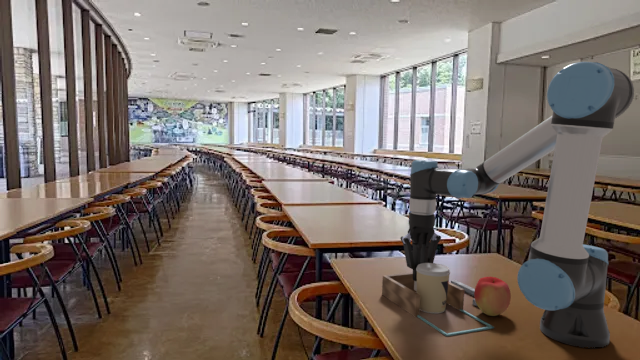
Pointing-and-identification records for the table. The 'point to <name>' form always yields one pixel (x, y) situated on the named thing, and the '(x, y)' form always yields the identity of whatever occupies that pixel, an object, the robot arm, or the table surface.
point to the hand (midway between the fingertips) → (418, 290)
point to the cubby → (405, 296)
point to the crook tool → (465, 289)
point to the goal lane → (460, 331)
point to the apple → (492, 295)
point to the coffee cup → (432, 286)
